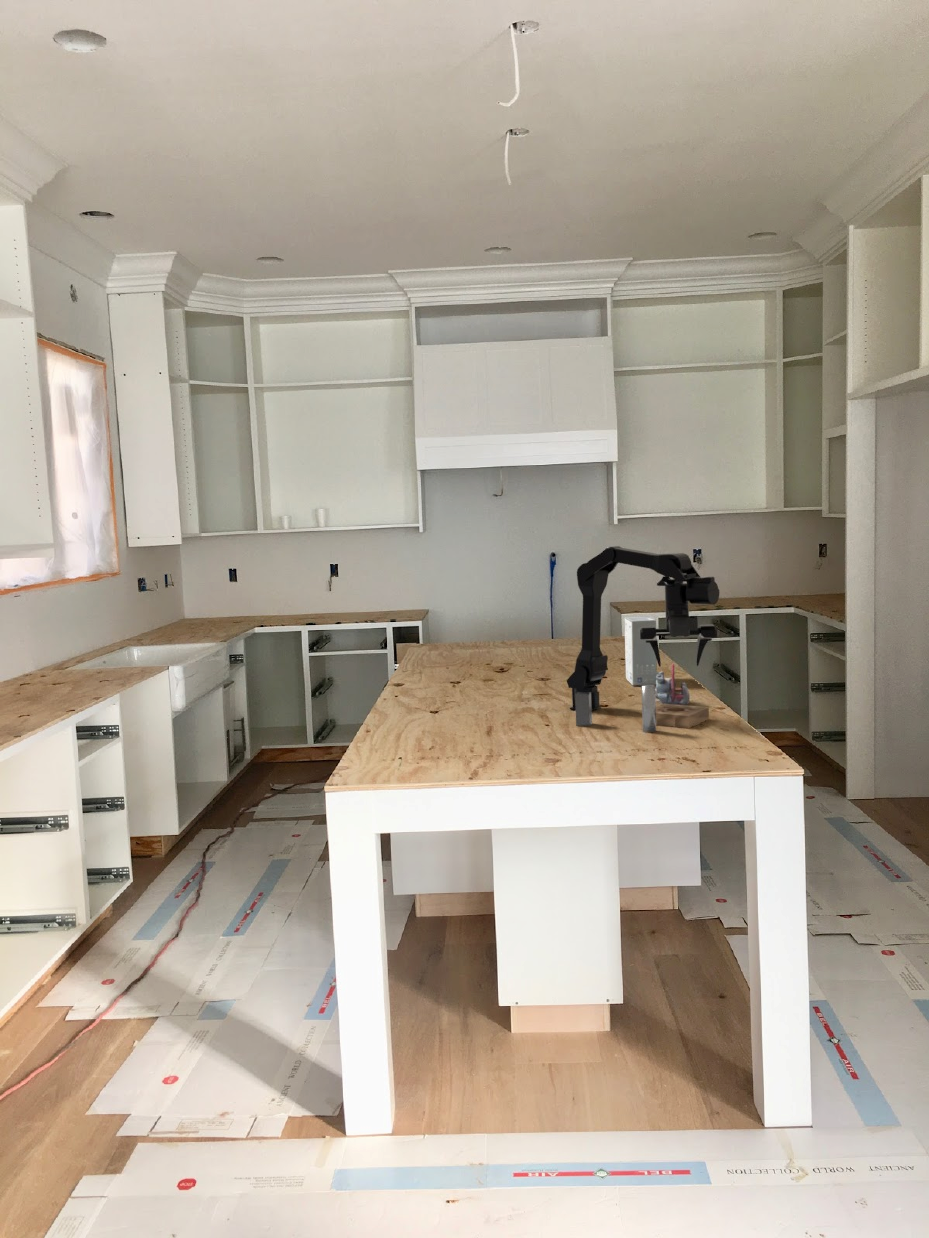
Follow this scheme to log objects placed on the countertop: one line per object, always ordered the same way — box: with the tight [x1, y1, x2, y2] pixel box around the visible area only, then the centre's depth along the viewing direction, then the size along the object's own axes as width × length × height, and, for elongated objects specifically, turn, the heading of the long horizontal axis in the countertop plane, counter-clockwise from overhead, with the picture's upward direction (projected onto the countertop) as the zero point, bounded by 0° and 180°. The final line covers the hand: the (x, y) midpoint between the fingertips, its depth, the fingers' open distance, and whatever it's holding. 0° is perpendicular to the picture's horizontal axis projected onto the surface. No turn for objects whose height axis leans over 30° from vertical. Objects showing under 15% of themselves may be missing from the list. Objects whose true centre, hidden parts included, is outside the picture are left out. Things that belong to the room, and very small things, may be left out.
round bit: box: [641, 685, 657, 733], centre depth 238 cm, size 3×3×11 cm
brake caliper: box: [655, 663, 690, 706], centre depth 271 cm, size 11×11×12 cm
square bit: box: [575, 692, 593, 727], centre depth 249 cm, size 3×3×8 cm
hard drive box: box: [623, 616, 658, 687], centre depth 308 cm, size 16×8×20 cm, turn 179°
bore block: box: [656, 704, 710, 729], centre depth 248 cm, size 12×12×3 cm
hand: (678, 666), depth 249 cm, fingers open, 9 cm apart
